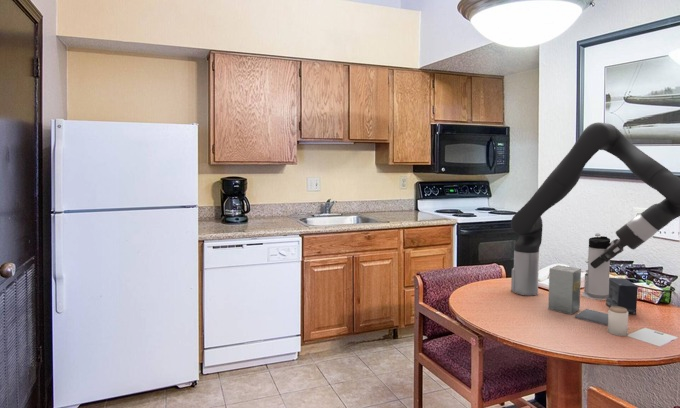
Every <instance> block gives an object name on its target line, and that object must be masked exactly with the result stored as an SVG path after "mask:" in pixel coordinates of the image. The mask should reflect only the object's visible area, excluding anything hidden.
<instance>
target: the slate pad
mask: <svg viewBox="0 0 680 408" xmlns="http://www.w3.org/2000/svg"><path fill="white" fill-rule="evenodd" d="M574 319H578V320H582V321H587V322H590V323H595V324H597V325H603V326H607V327H608V312H602V311H598V310H594V309H589V308H585V309H583V310H582V311H580V312H579V313H577V314H575V315H574Z"/></svg>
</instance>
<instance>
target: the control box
mask: <svg viewBox="0 0 680 408" xmlns="http://www.w3.org/2000/svg"><path fill="white" fill-rule="evenodd" d="M548 271H549V275H548V276H549V277H548V279H549V280H548V309H547V310H550V311H555V312H559V313H563V314H565V315H566V314H567V315H573V314H575V313H577V312H579V311H580V310H581V308H580V307H581V305H580V303H581V286H582V285H581V283H582V279H581V278H582V268H578V267H571V266H565V265H560V264H556V265H555V266H552V267H550V268H549V270H548Z"/></svg>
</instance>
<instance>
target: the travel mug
mask: <svg viewBox="0 0 680 408" xmlns="http://www.w3.org/2000/svg"><path fill="white" fill-rule="evenodd" d="M610 243H611V238H610V237H607V236H603V235H600V236H598V237H597V236H594V237H590V238H588V247H587V248H588V251H587V252H588V253H587V254H588V255H587V256H588V257H587V259H588V263H587V270H588V288H587V289H588V291H587V295H588V296H590V297H593V298H599V299H605V298H608V297H609V278H610V269H611V267H610V266H611V265H610V264H611V263H610V262H611V259H610V260H609V261H608V262H604V263H602V264H601V265H600V266H598V267H597V268H593V267H592V266H591V265H590V263H591V262H592V261H594V260H595V259H596V258H598V257H599V256H600V255H601V254H602V253H604V250H605V249H606V248H607V247H608V246H609V245H610ZM605 256H606V257H607V258H608V257H609V256H608V255H607V254H606V255H605ZM605 300H606V299H605Z"/></svg>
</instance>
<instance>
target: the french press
mask: <svg viewBox="0 0 680 408" xmlns="http://www.w3.org/2000/svg"><path fill="white" fill-rule="evenodd" d="M594 237H601V233H600V232H596V233H595V234H594ZM584 261H585V263H586V264H588V258H586V259H585V260H584ZM585 272H586V273H584V285H583V287H584V288H583V289H584V290H583V292H581V293H580V296H583V297H584V298H587V299H592V300H598V301H599V300H604V301H605V300H606V299H607V298H605V299H599V298H593V297H590V296H588V295H587V291H588V289H587V288H588V269H586V270H585Z"/></svg>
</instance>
